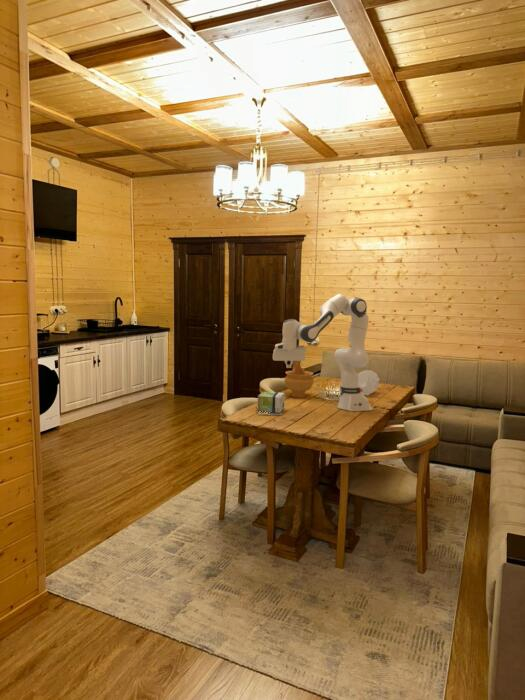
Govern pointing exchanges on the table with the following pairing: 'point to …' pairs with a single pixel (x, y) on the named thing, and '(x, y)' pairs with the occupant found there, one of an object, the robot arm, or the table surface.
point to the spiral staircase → (368, 382)
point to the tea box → (271, 401)
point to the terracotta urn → (298, 380)
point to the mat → (270, 413)
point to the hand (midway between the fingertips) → (288, 367)
